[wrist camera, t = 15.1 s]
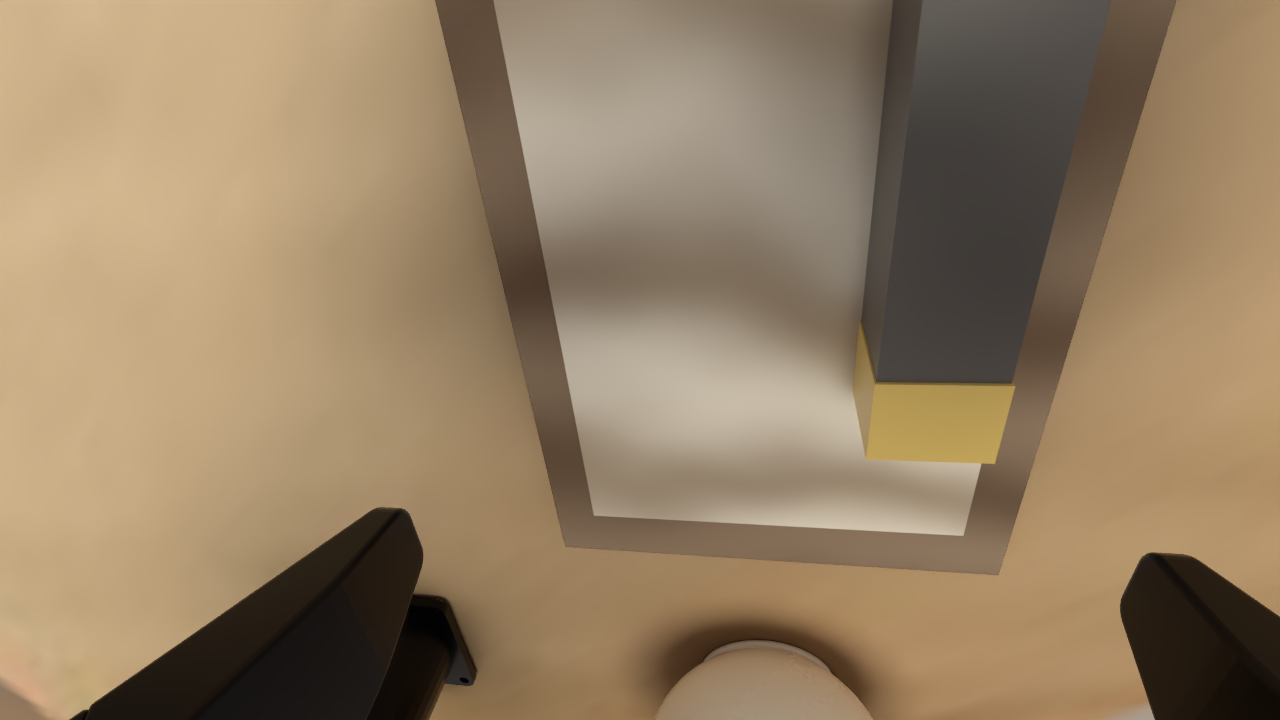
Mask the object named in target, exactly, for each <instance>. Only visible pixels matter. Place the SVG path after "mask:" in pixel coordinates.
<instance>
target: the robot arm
mask: <svg viewBox="0 0 1280 720" xmlns="http://www.w3.org/2000/svg"><path fill="white" fill-rule="evenodd" d="M422 564H423V549H422V546H421V543H420V540H419V538H418V535H417V532H416V530H415V527H414V525H413V522H412V519H411V517H410V515H409V513H408V512H407V511H406V510H405V509H402V508H386V507H379V508H375V509H373V510H371V511H370V512H368V513H367V514H365V515H364V516H363V517H361V518H360V519H358V520H357V521H355V522H354V523H352V524H351V525H350V526H348V527H347V528H345V529H344V530H342V531H341V532H339V533H338V534H337V535H335V536H334V537H332V538H331V539H329V540H328V541H326V542H325V543H324V544H322V545H321V546H319V547H318V548H316V549H315V550H314V551H312V552H311V553H309V554H308V555H306V556H305V557H303V558H302V559H301V560H299V561H298V562H296V563H295V564H293V565H292V566H290V567H289V568H288V569H286V570H285V571H283V572H282V573H280V574H279V575H277V576H276V577H275V578H273V579H272V580H270V581H269V582H267V583H266V584H265V585H263V586H262V587H260V588H259V589H257V590H256V591H254V592H253V593H252V594H250V595H249V596H247V597H246V598H244V599H243V600H241V601H240V602H239V603H237V604H236V605H234V606H233V607H231V608H230V609H228V610H227V611H226V612H224V613H223V614H221V615H220V616H218V617H217V618H215V619H214V620H213V621H211V622H210V623H208V624H207V625H205V626H204V627H203V628H201V629H200V630H198V631H197V632H195V633H194V634H192V635H191V636H190V637H188V638H187V639H185V640H184V641H182V642H181V643H179V644H178V645H177V646H175V647H174V648H172V649H171V650H169V651H168V652H166V653H165V654H164V655H162V656H161V657H159V658H158V659H156V660H155V661H153V662H152V663H151V664H149V665H148V666H146V667H145V668H143V669H142V670H140V671H139V672H138V673H136V674H135V675H133V676H132V677H130V678H129V679H128V680H126V681H125V682H123V683H122V684H120V685H119V686H117V687H116V688H115V689H113V690H112V691H110V692H109V693H107V694H106V695H104V696H103V697H102V698H100V699H99V700H97V701H96V702H94V703H93V704H92V705H91V706H90V708H89V710H83V711H81V712H80V713H78V714H77V715H75V716H74V717H72V718H71V719H70V720H429V718H430V716H431V714H432V711H433V709H434V707H435V704H436V702H437V700H438V698H439V695H440V693H441V691H442V688H443V686H444V684H445V683H446V684H455V685H464V686H471V685H473V683H474V681H475V678H476V672H475V670H474V667H473V665H472V662H471V660H470V658H469V655H468V653H467V650H466V648H465V646H464V643H463V641H462V638H461V636H460V633H459V631H458V629H457V626H456V624H455V621H454V619H453V617H452V614H451V612H450V609H449V607H448V605H447V604H446V603H444V602H443V601H440V600H436V599H424V598H413V597H412V595H413V592H414V589H415V586H416V583H417V580H418V577H419V574H420V571H421V568H422ZM1120 613H1121V618H1122V622H1123V625H1124V628H1125V631H1126V634H1127V637H1128V640H1129V643H1130V646H1131V649H1132V652H1133V655H1134V658H1135V661H1136V664H1137V667H1138V670H1139V673H1140V676H1141V679H1142V682H1143V685H1144V688H1145V692H1146V695H1147V698H1148V701H1149V704H1150V707H1151V710H1152V713H1153V716H1154V718H1155V720H1280V616H1278V615H1277V614H1275V613H1274V612H1272V611H1271V610H1270V609H1268V608H1267V607H1265V606H1264V605H1262V604H1261V603H1260V602H1258V601H1257V600H1255V599H1254V598H1252V597H1251V596H1249V595H1248V594H1247V593H1245V592H1244V591H1242V590H1241V589H1239V588H1238V587H1236V586H1235V585H1234V584H1232V583H1231V582H1229V581H1228V580H1226V579H1225V578H1224V577H1222V576H1221V575H1219V574H1218V573H1216V572H1215V571H1213V570H1212V569H1211V568H1209V567H1208V566H1206V565H1205V564H1203V563H1202V562H1201V561H1199V560H1197V559H1196V558H1194V557H1191V556H1188V555H1184V554H1171V553H1154V552H1153V553H1148V554H1146V555H1144V556H1143V557H1142V558H1141V559H1140V561H1139V563H1138V565H1137V567H1136V569H1135V571H1134V573H1133V575H1132V577H1131V579H1130V581H1129V583H1128V585H1127V587H1126V589H1125V591H1124V594H1123V596H1122V598H1121V603H1120Z"/></svg>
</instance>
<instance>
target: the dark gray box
mask: <svg viewBox="0 0 1280 720" xmlns="http://www.w3.org/2000/svg"><path fill="white" fill-rule="evenodd" d="M1111 1H1112V0H893V5H892V15H891V25H890V36H889V46H888V56H887V66H886V76H885V86H884V96H883V106H882V116H881V126H880V136H879V147H878V157H877V167H876V177H875V187H874V197H873V207H872V217H871V227H870V237H869V247H868V258H867V268H866V278H865V288H864V298H863V308H862V318H861V321H859V330H858V340H857V350H856V361H855V371H854V381H853V395H854V400H855V406H856V411H857V416H858V421H859V426H860V432H861V437H862V442H863V447H864V452H865V458H866V460H895V461H925V462H954V463H984V464H995V461H996V458H997V454H998V450H999V446H1000V443H1001V439H1002V435H1003V431H1004V428H1005V424H1006V420H1007V416H1008V412H1009V409H1010V405H1011V401H1012V397H1013V394H1014V390H1015V384H1014V383H1013V377H1014V373H1015V369H1016V365H1017V362H1018V358H1019V354H1020V350H1021V346H1022V342H1023V338H1024V335H1025V331H1026V327H1027V323H1028V319H1029V315H1030V312H1031V308H1032V304H1033V300H1034V296H1035V292H1036V289H1037V285H1038V281H1039V277H1040V273H1041V269H1042V266H1043V262H1044V258H1045V254H1046V250H1047V246H1048V242H1049V239H1050V235H1051V231H1052V227H1053V223H1054V219H1055V216H1056V212H1057V208H1058V204H1059V200H1060V196H1061V193H1062V189H1063V185H1064V181H1065V177H1066V173H1067V170H1068V166H1069V162H1070V158H1071V154H1072V150H1073V147H1074V143H1075V139H1076V135H1077V131H1078V127H1079V123H1080V120H1081V116H1082V112H1083V108H1084V104H1085V100H1086V97H1087V93H1088V89H1089V85H1090V81H1091V77H1092V74H1093V70H1094V66H1095V62H1096V58H1097V54H1098V51H1099V47H1100V43H1101V39H1102V35H1103V31H1104V28H1105V24H1106V20H1107V16H1108V12H1109V8H1110V4H1111Z"/></svg>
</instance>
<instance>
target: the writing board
mask: <svg viewBox="0 0 1280 720" xmlns="http://www.w3.org/2000/svg"><path fill="white" fill-rule="evenodd" d="M435 2H436V6H437V10H438V14H439V19H440V23H441V27H442V31H443V35H444V40H445V44H446V48H447V52H448V56H449V61H450V65H451V69H452V73H453V77H454V82H455V86H456V90H457V94H458V98H459V103H460V107H461V111H462V115H463V119H464V124H465V128H466V132H467V136H468V140H469V145H470V149H471V153H472V157H473V161H474V166H475V170H476V174H477V178H478V182H479V187H480V191H481V195H482V199H483V203H484V208H485V212H486V216H487V220H488V224H489V229H490V233H491V237H492V241H493V245H494V250H495V254H496V258H497V262H498V266H499V271H500V275H501V279H502V283H503V287H504V292H505V296H506V300H507V304H508V308H509V313H510V317H511V321H512V325H513V329H514V334H515V338H516V342H517V346H518V350H519V355H520V359H521V363H522V367H523V371H524V376H525V380H526V384H527V388H528V392H529V397H530V401H531V405H532V409H533V413H534V418H535V422H536V426H537V430H538V434H539V439H540V443H541V447H542V451H543V455H544V460H545V464H546V468H547V472H548V476H549V481H550V485H551V489H552V493H553V497H554V502H555V506H556V510H557V514H558V518H559V523H560V527H561V531H562V535H563V539H564V544H565V547H574V548H589V549H604V550H620V551H635V552H650V553H665V554H681V555H696V556H711V557H727V558H742V559H757V560H772V561H788V562H803V563H818V564H834V565H849V566H864V567H880V568H895V569H910V570H925V571H941V572H956V573H971V574H987V575H999V572H1000V569H1001V566H1002V562H1003V559H1004V556H1005V553H1006V550H1007V546H1008V543H1009V540H1010V537H1011V533H1012V530H1013V527H1014V524H1015V520H1016V517H1017V514H1018V511H1019V508H1020V504H1021V501H1022V498H1023V495H1024V491H1025V488H1026V485H1027V482H1028V478H1029V475H1030V472H1031V469H1032V465H1033V462H1034V459H1035V456H1036V453H1037V449H1038V446H1039V443H1040V440H1041V436H1042V433H1043V430H1044V427H1045V423H1046V420H1047V417H1048V414H1049V411H1050V407H1051V404H1052V401H1053V398H1054V394H1055V391H1056V388H1057V385H1058V381H1059V378H1060V375H1061V372H1062V368H1063V365H1064V362H1065V359H1066V356H1067V352H1068V349H1069V346H1070V343H1071V339H1072V336H1073V333H1074V330H1075V326H1076V323H1077V320H1078V317H1079V314H1080V310H1081V307H1082V304H1083V301H1084V297H1085V294H1086V291H1087V288H1088V284H1089V281H1090V278H1091V275H1092V271H1093V268H1094V265H1095V262H1096V259H1097V255H1098V252H1099V249H1100V246H1101V242H1102V239H1103V236H1104V233H1105V229H1106V226H1107V223H1108V220H1109V217H1110V213H1111V210H1112V207H1113V204H1114V200H1115V197H1116V194H1117V191H1118V187H1119V184H1120V181H1121V178H1122V175H1123V171H1124V168H1125V165H1126V162H1127V158H1128V155H1129V152H1130V149H1131V145H1132V142H1133V139H1134V136H1135V132H1136V129H1137V126H1138V123H1139V120H1140V116H1141V113H1142V110H1143V107H1144V103H1145V100H1146V97H1147V94H1148V90H1149V87H1150V84H1151V81H1152V78H1153V74H1154V71H1155V68H1156V65H1157V61H1158V58H1159V55H1160V52H1161V48H1162V45H1163V42H1164V39H1165V35H1166V32H1167V29H1168V26H1169V23H1170V19H1171V16H1172V13H1173V10H1174V6H1175V3H1176V0H1112V1H1111V4H1110V8H1109V12H1108V16H1107V20H1106V24H1105V28H1104V31H1103V35H1102V39H1101V43H1100V47H1099V51H1098V54H1097V58H1096V62H1095V66H1094V70H1093V74H1092V77H1091V81H1090V85H1089V89H1088V93H1087V97H1086V100H1085V104H1084V108H1083V112H1082V116H1081V120H1080V123H1079V127H1078V131H1077V135H1076V139H1075V143H1074V147H1073V150H1072V154H1071V158H1070V162H1069V166H1068V170H1067V173H1066V177H1065V181H1064V185H1063V189H1062V193H1061V196H1060V200H1059V204H1058V208H1057V212H1056V216H1055V219H1054V223H1053V227H1052V231H1051V235H1050V239H1049V242H1048V246H1047V250H1046V254H1045V258H1044V262H1043V266H1042V269H1041V273H1040V277H1039V281H1038V285H1037V289H1036V292H1035V296H1034V300H1033V304H1032V308H1031V312H1030V315H1029V319H1028V323H1027V327H1026V331H1025V335H1024V338H1023V342H1022V346H1021V350H1020V354H1019V358H1018V362H1017V365H1016V369H1015V373H1014V377H1013V383H1014V384H1015V390H1014V394H1013V397H1012V401H1011V405H1010V409H1009V412H1008V416H1007V420H1006V424H1005V428H1004V431H1003V435H1002V439H1001V443H1000V446H999V450H998V454H997V458H996V461H995V464H984V463H954V462H925V461H895V460H866V458H865V452H864V447H863V442H862V437H861V432H860V426H859V421H858V416H857V411H856V406H855V400H854V395H853V381H854V371H855V361H856V350H857V340H858V330H859V321H861V318H862V308H863V298H864V288H865V278H866V268H867V258H868V247H869V237H870V227H871V217H872V207H873V197H874V187H875V177H876V167H877V157H878V147H879V136H880V126H881V116H882V106H883V96H884V86H885V76H886V66H887V56H888V46H889V36H890V25H891V15H892V5H893V0H435Z"/></svg>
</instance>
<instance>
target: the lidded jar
mask: <svg viewBox="0 0 1280 720" xmlns="http://www.w3.org/2000/svg"><path fill="white" fill-rule="evenodd" d="M654 720H874V719H873V718H872V716H871V714H870V713H869V712H868V710H867V709H866V708H865V707H864V705H863V704H862V703H861V701H860V700H859V699H858V698H857V696H856V695H855V694H854V693H853V692H852V691H851V690H850V689H849V688H848V687H847V686H846V685H845V684H843V683H842V682H841V681H840V680H839V679H838V678H836V677H835V676H834V675H833V674H832V672H831V670H830V669H829V668H828V667H827V666H826V664H825V663H823V662H822V661H821V660H820V659H819V658H817V657H816V656H814V655H813V654H811V653H809V652H807V651H805V650H803V649H801V648H798V647H795V646H793V645H789V644H785V643H781V642H775V641H768V640H745V641H737V642H733V643H729V644H726V645H723V646H721V647H719V648H717V649H715V650H713V651H712V652H711V653H710V654H708V655H707V656H706V658H705V659H704V660H703V662H702V663H701V664H699V665H698V666H696V667H695V668H693V669H692V670H691V671H690V672H688V673H687V674H686V675H685V676H683V677H682V678H681V679H680V680H679V681H678V682H677V683H676V685H675V686H674V687H673V688H672V689H671V691H670V692H669V693H668V695H667V696H666V697H665V699H664V701H663V702H662V704H661V706H660V708H659V709H658V711H657V713H656V715H655V718H654Z"/></svg>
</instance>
